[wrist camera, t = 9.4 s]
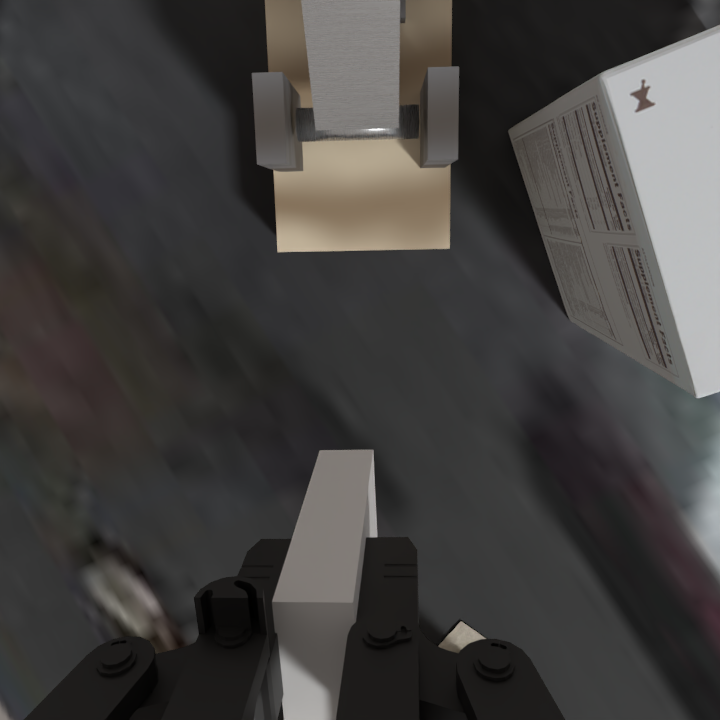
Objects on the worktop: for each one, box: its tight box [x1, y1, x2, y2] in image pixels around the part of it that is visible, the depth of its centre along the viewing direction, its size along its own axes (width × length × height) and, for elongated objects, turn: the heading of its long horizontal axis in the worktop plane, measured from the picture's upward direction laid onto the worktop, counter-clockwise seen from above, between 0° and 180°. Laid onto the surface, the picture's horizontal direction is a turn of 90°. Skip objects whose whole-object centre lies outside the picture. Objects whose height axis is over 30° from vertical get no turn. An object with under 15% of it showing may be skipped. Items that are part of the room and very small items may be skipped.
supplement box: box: [508, 25, 720, 398], centre depth 32 cm, size 13×13×18 cm
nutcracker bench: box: [252, 0, 459, 252], centre depth 34 cm, size 18×10×10 cm, turn 1°
